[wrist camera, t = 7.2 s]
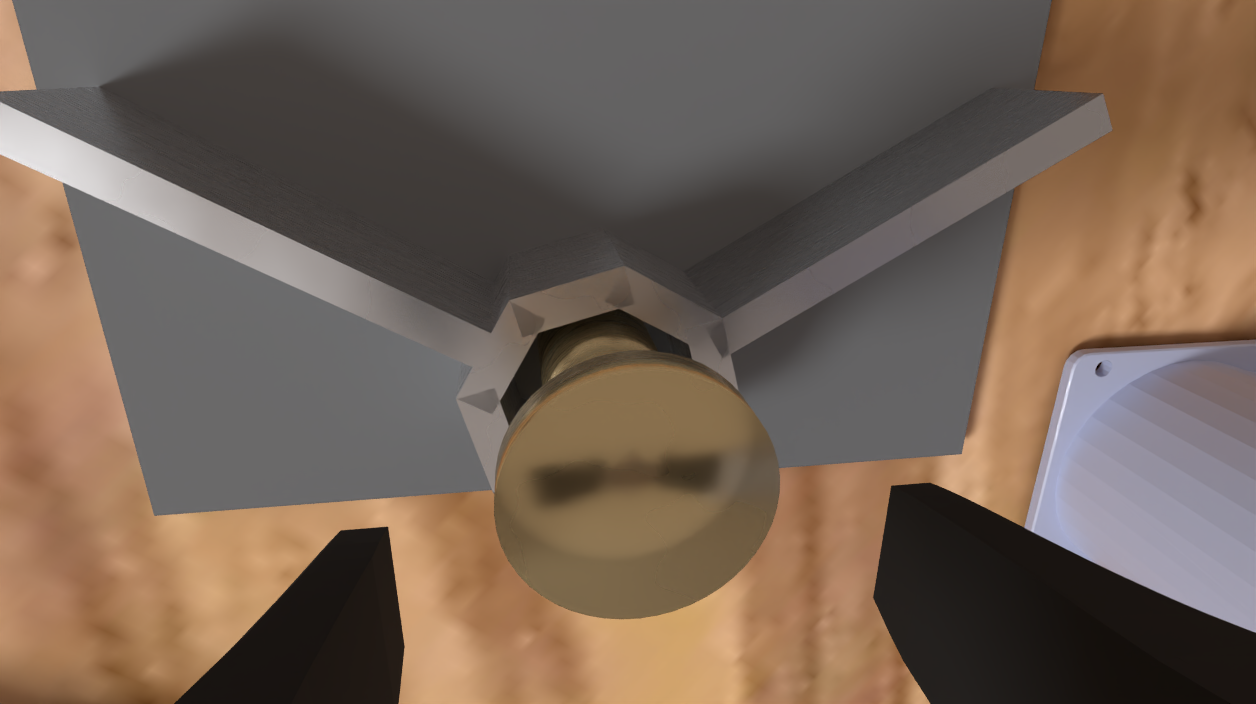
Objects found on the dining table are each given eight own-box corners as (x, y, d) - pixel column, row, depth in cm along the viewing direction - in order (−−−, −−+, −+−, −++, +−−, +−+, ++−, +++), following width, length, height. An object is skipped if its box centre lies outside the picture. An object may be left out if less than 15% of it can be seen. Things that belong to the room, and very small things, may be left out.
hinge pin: (677, 240, 18) (792, 363, 11) (671, 403, 19) (768, 605, 12) (494, 246, 17) (484, 379, 10) (504, 413, 19) (502, 632, 12)
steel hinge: (1010, 103, 18) (1125, 111, 14) (726, 516, 21) (767, 601, 18) (285, -450, 12) (203, -640, 9) (50, 224, 15) (-74, 267, 12)
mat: (1118, -434, 15) (1142, -454, 14) (950, 444, 22) (961, 454, 21) (-125, -579, 11) (-156, -611, 11) (164, 502, 19) (154, 515, 18)
